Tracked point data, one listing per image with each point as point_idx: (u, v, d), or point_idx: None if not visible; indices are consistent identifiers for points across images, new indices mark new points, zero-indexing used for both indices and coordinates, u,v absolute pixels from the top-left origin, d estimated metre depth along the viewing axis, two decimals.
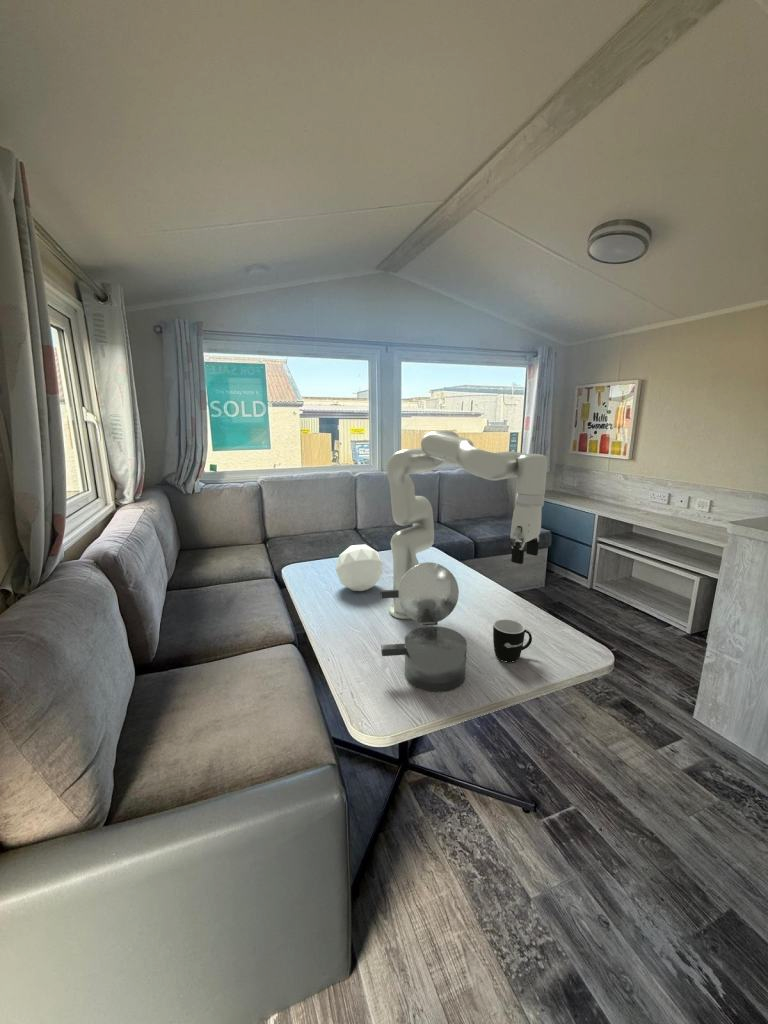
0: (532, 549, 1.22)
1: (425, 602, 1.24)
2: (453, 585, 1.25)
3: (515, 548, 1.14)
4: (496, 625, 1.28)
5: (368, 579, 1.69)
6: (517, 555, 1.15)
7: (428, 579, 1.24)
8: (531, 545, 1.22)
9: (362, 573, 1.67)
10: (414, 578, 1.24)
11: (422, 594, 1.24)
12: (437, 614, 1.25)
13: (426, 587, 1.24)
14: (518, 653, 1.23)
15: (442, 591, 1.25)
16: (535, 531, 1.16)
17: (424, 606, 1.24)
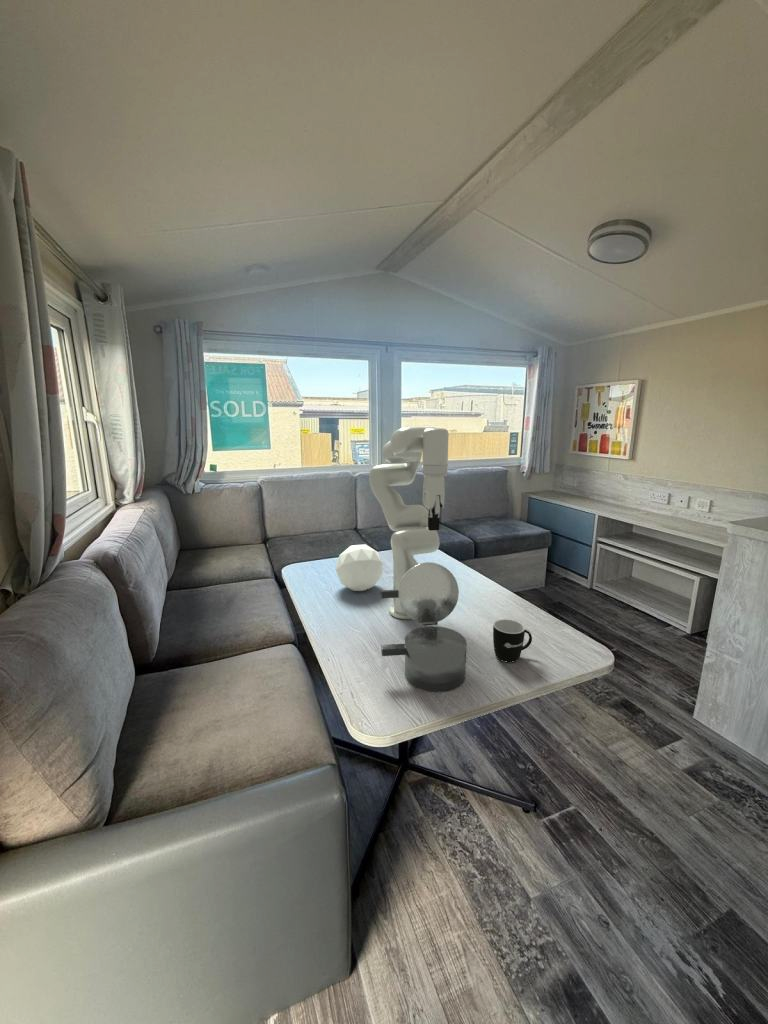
0: None
1: (425, 602, 1.24)
2: (453, 585, 1.25)
3: (434, 517, 1.27)
4: (496, 625, 1.28)
5: (368, 579, 1.69)
6: (435, 523, 1.28)
7: (428, 579, 1.24)
8: None
9: (362, 573, 1.67)
10: (414, 578, 1.24)
11: (422, 594, 1.24)
12: (437, 614, 1.25)
13: (426, 587, 1.24)
14: (518, 653, 1.23)
15: (442, 591, 1.25)
16: None
17: (424, 606, 1.24)
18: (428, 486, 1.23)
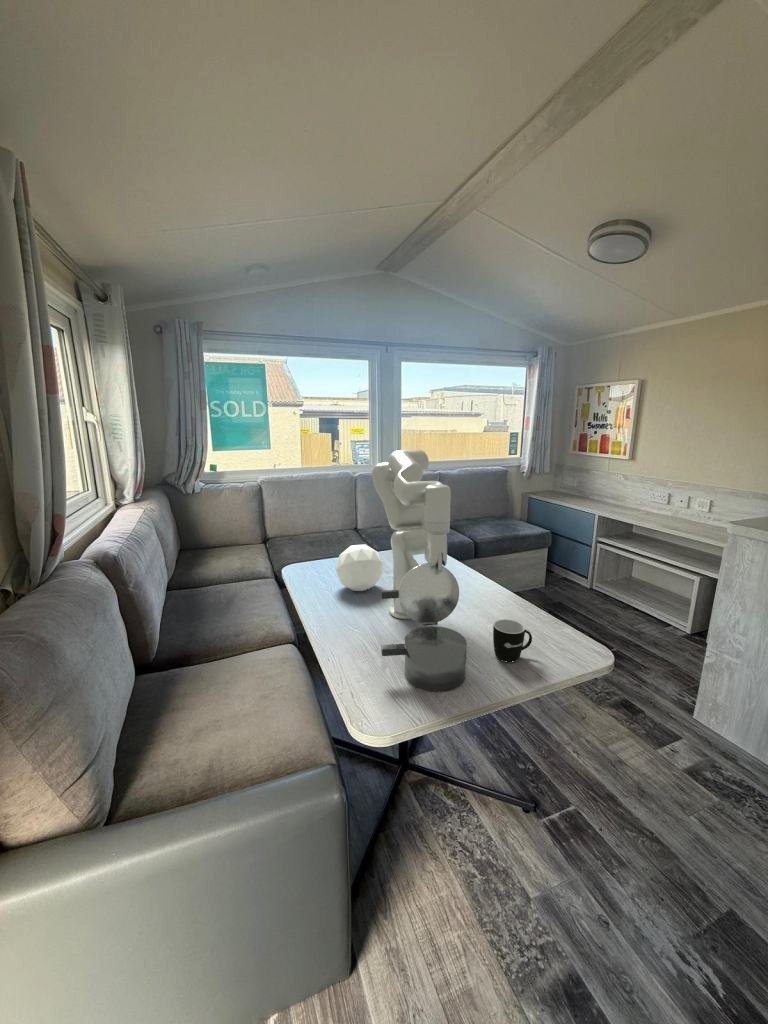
0: None
1: (425, 603, 1.24)
2: (454, 586, 1.24)
3: None
4: (496, 625, 1.28)
5: (368, 579, 1.69)
6: None
7: (429, 580, 1.23)
8: None
9: (362, 573, 1.67)
10: (415, 579, 1.23)
11: (422, 595, 1.24)
12: (437, 614, 1.25)
13: (426, 587, 1.23)
14: (518, 653, 1.23)
15: (442, 592, 1.24)
16: None
17: (424, 607, 1.24)
18: (430, 543, 1.22)
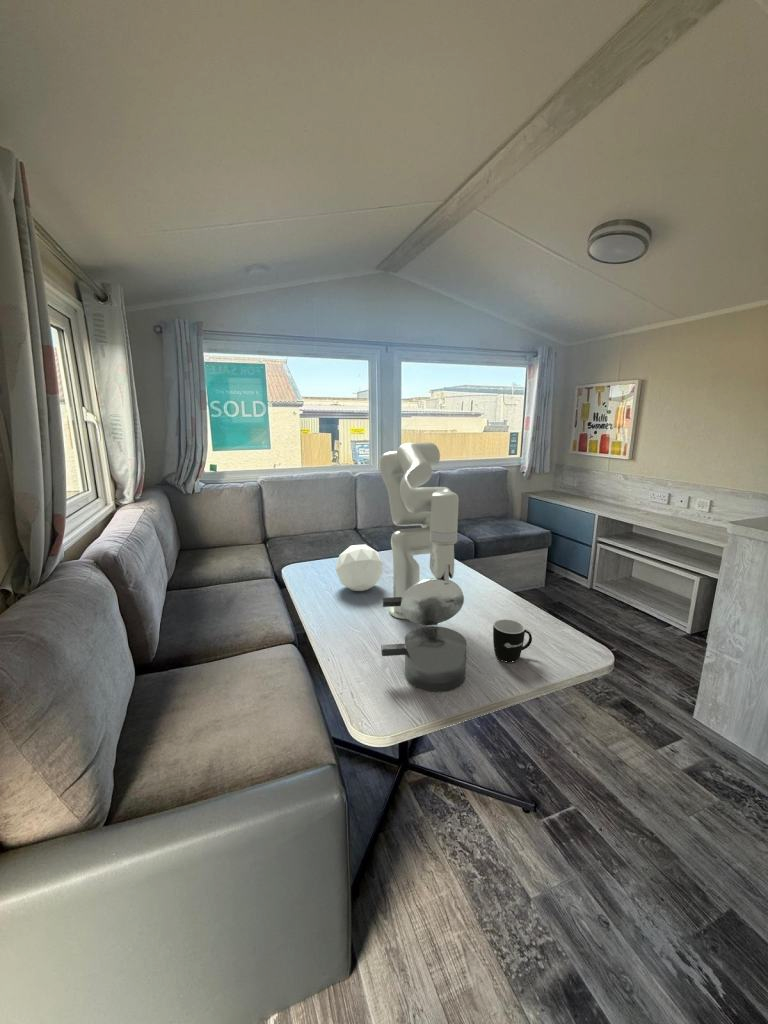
0: None
1: (427, 610, 1.21)
2: (459, 597, 1.19)
3: None
4: (496, 625, 1.28)
5: (368, 579, 1.69)
6: None
7: (434, 593, 1.17)
8: None
9: (362, 573, 1.67)
10: (419, 593, 1.16)
11: (425, 604, 1.19)
12: (438, 618, 1.24)
13: (430, 599, 1.18)
14: (518, 653, 1.23)
15: (446, 602, 1.20)
16: None
17: (426, 613, 1.22)
18: (436, 555, 1.15)
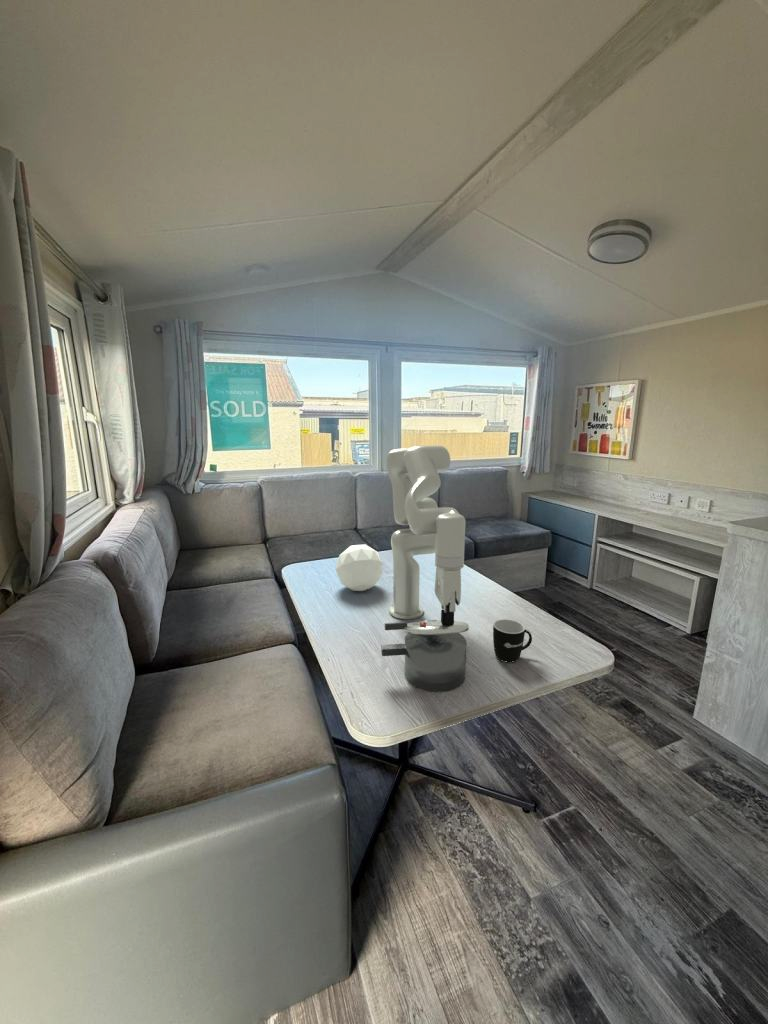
0: None
1: None
2: None
3: (449, 612, 1.13)
4: (496, 625, 1.28)
5: (368, 579, 1.69)
6: (450, 618, 1.14)
7: None
8: None
9: (362, 573, 1.67)
10: None
11: None
12: None
13: None
14: (518, 653, 1.23)
15: None
16: None
17: None
18: (442, 580, 1.09)
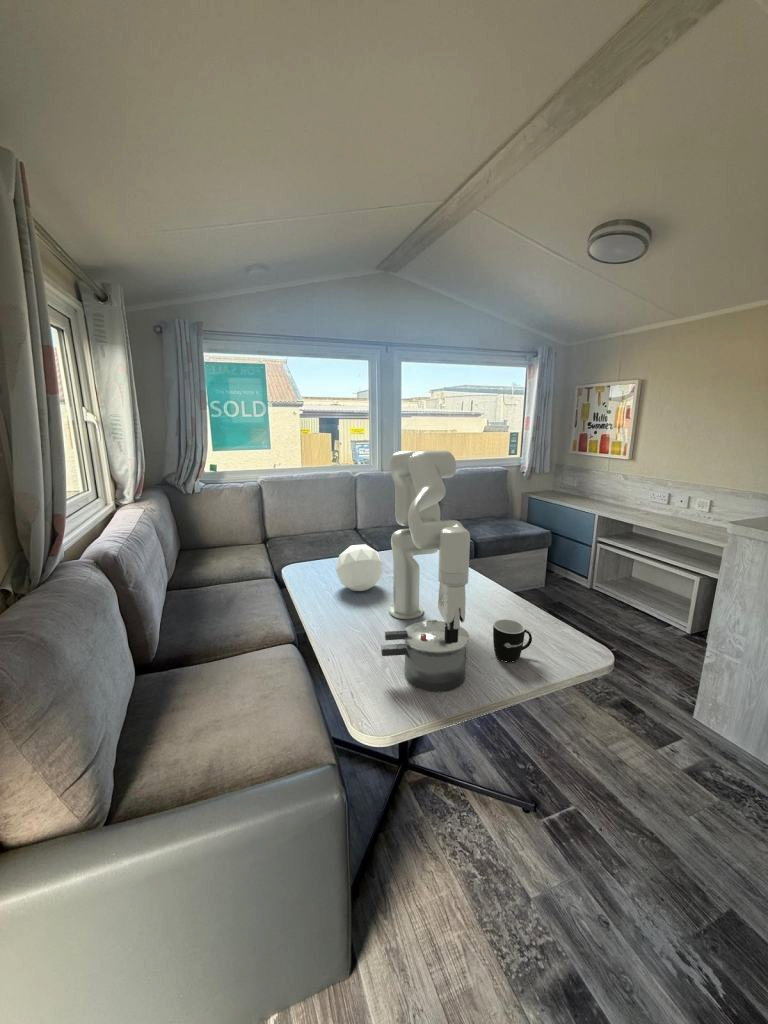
0: None
1: None
2: None
3: (453, 629, 1.09)
4: (496, 625, 1.28)
5: (368, 579, 1.69)
6: (454, 635, 1.10)
7: None
8: None
9: (362, 573, 1.67)
10: None
11: None
12: None
13: None
14: (518, 653, 1.23)
15: None
16: None
17: None
18: (446, 597, 1.05)
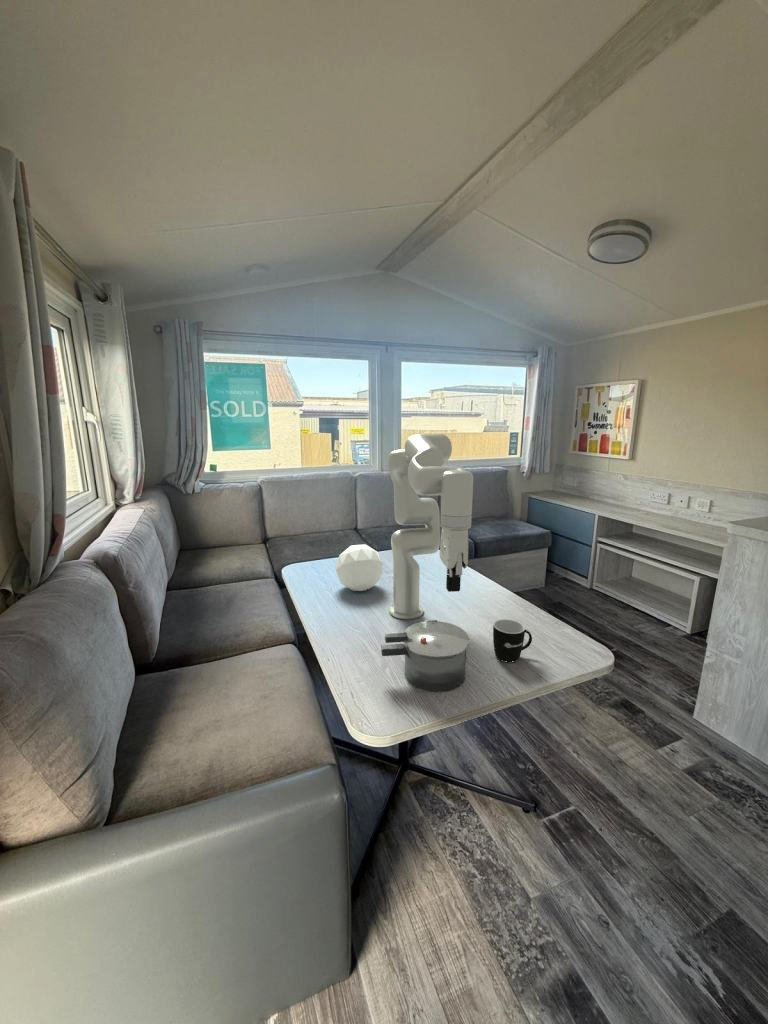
0: None
1: None
2: None
3: (455, 576, 1.05)
4: (496, 625, 1.28)
5: (368, 579, 1.69)
6: (456, 583, 1.06)
7: None
8: None
9: (362, 573, 1.67)
10: None
11: None
12: None
13: None
14: (518, 653, 1.23)
15: None
16: None
17: None
18: (448, 541, 1.01)
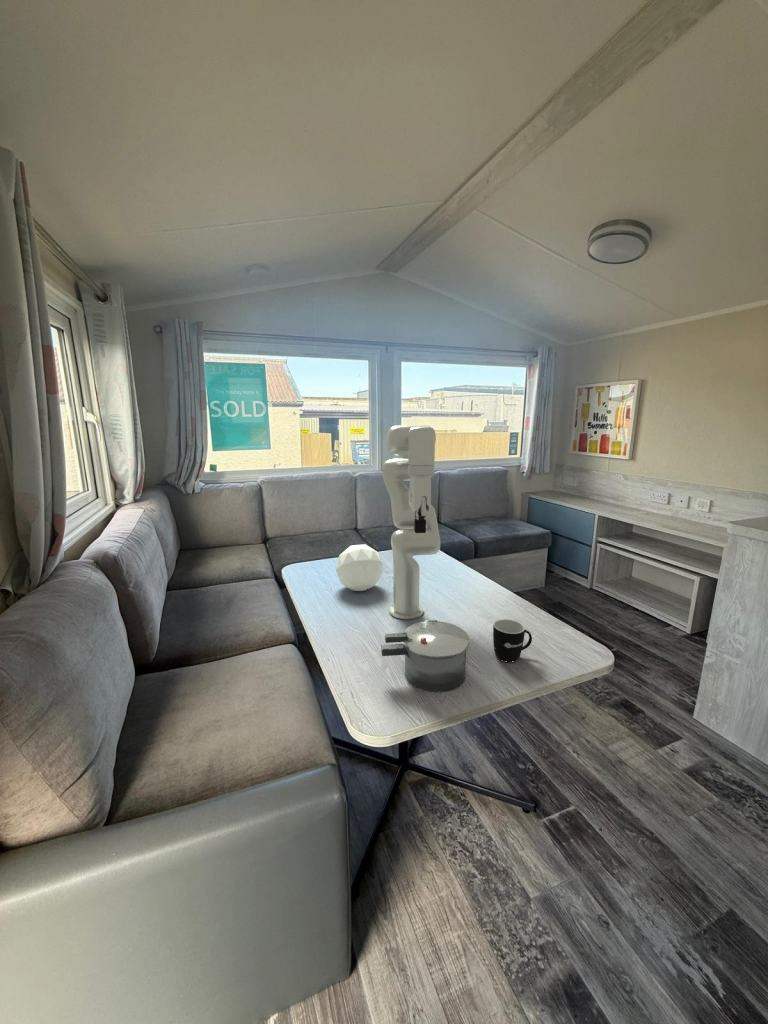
0: None
1: None
2: None
3: (420, 519, 1.22)
4: (496, 625, 1.28)
5: (368, 579, 1.69)
6: (422, 525, 1.23)
7: None
8: None
9: (362, 573, 1.67)
10: None
11: None
12: None
13: None
14: (518, 653, 1.23)
15: None
16: None
17: None
18: (414, 487, 1.19)
